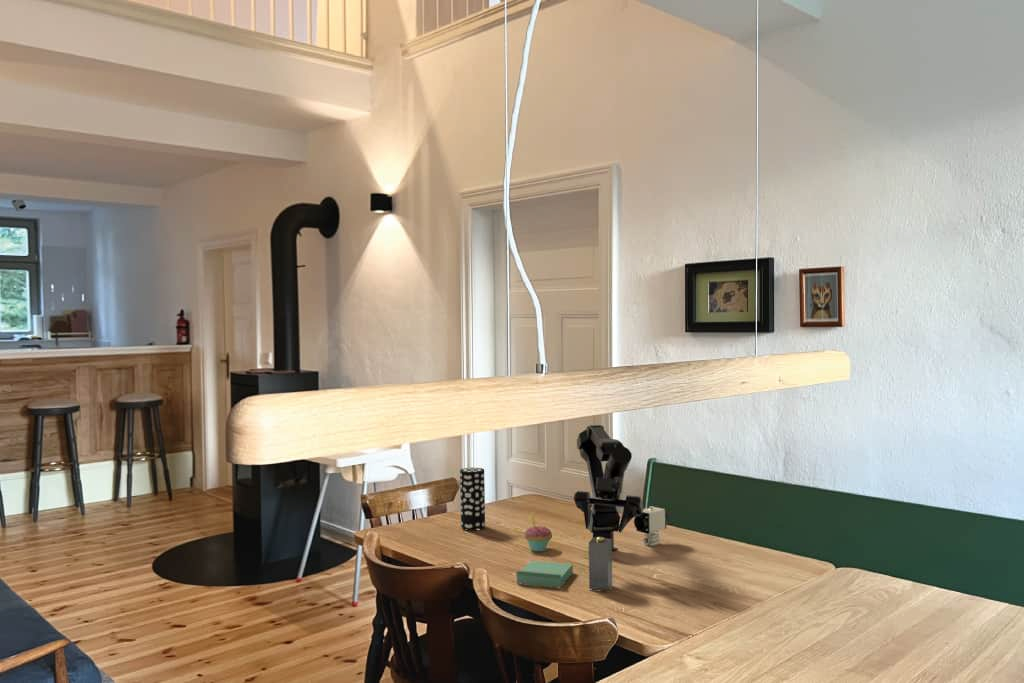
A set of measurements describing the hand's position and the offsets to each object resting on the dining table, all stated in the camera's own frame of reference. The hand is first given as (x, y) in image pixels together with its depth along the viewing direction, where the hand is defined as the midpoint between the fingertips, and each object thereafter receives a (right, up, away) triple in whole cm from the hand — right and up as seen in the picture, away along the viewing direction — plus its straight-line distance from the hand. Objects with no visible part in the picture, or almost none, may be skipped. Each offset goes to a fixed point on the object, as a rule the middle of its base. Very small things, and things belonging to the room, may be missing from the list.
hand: (603, 530), depth 210 cm
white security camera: (+19, -12, +32) cm, 39 cm away
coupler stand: (-16, -13, +1) cm, 21 cm away
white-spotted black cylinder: (-38, -13, +55) cm, 68 cm away
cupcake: (-17, -13, +29) cm, 36 cm away
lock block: (-1, -13, -7) cm, 15 cm away
